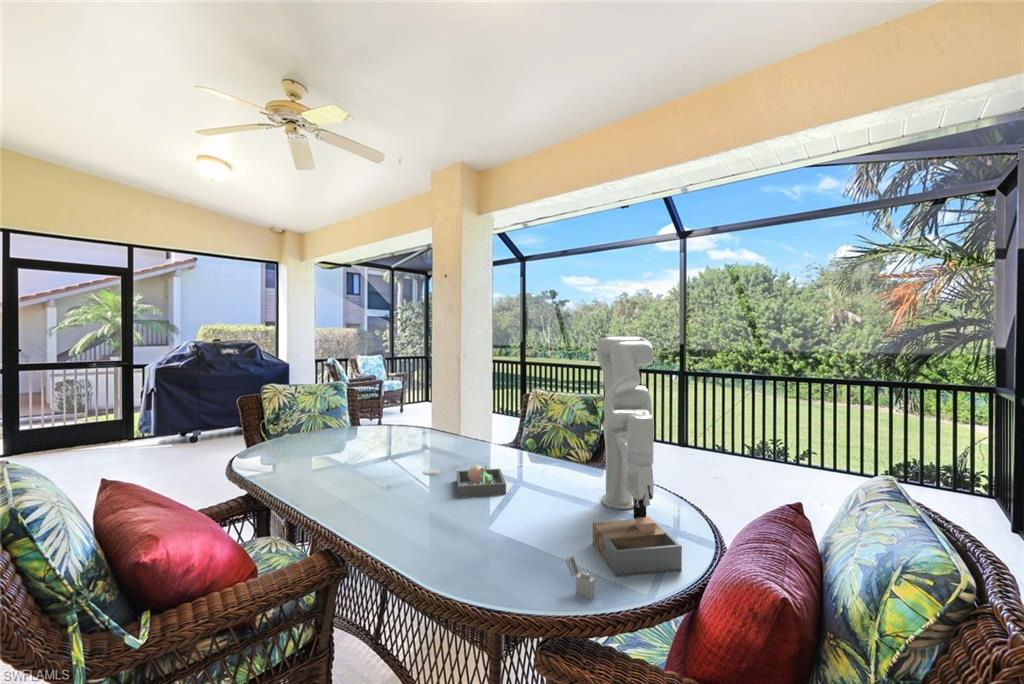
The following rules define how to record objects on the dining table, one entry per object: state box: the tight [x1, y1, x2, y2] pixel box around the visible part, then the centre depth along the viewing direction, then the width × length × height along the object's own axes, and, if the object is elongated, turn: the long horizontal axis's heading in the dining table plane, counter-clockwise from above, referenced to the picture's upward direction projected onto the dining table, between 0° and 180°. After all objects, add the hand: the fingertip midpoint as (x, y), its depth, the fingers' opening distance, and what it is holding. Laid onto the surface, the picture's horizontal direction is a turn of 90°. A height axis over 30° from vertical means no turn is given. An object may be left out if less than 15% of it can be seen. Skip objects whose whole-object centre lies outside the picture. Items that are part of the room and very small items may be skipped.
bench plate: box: [592, 519, 665, 561], centre depth 129 cm, size 10×18×6 cm, turn 99°
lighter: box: [564, 555, 595, 600], centre depth 109 cm, size 7×2×8 cm, turn 52°
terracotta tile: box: [636, 516, 656, 533], centre depth 129 cm, size 4×4×2 cm
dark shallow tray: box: [456, 468, 507, 498], centre depth 179 cm, size 18×18×4 cm
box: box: [604, 531, 683, 578], centre depth 120 cm, size 8×18×6 cm, turn 99°
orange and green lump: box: [466, 464, 494, 485], centre depth 179 cm, size 12×10×9 cm
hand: (639, 519), depth 132 cm, fingers closed
